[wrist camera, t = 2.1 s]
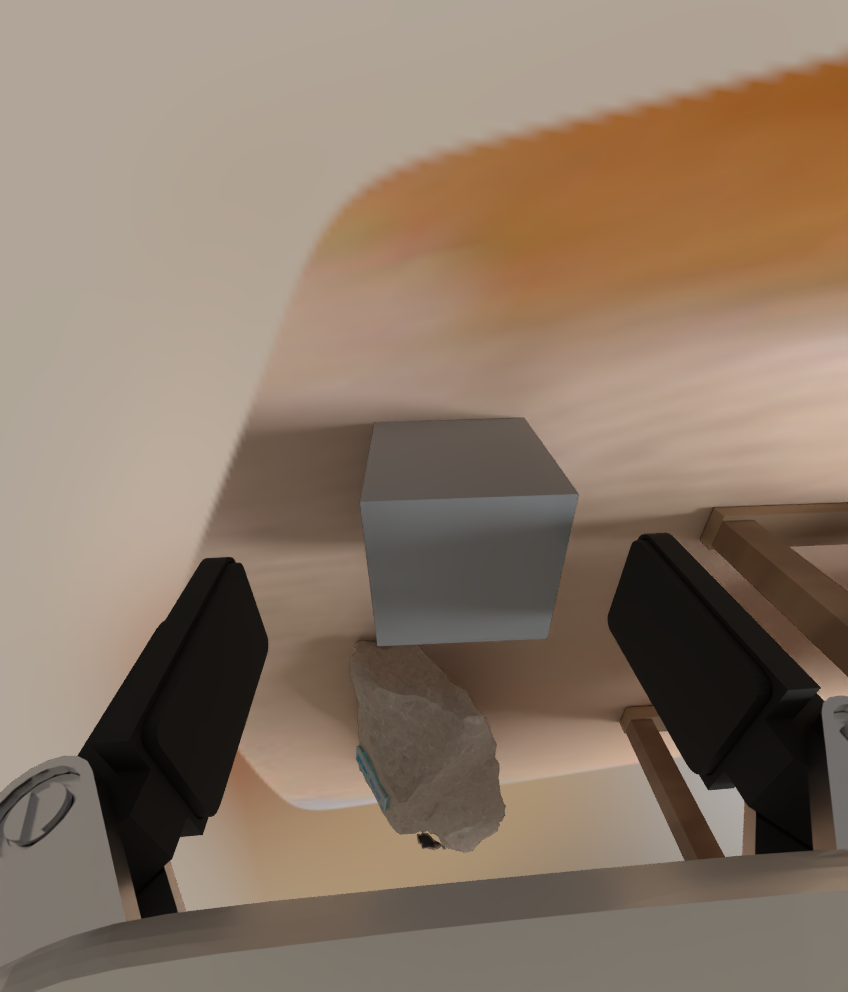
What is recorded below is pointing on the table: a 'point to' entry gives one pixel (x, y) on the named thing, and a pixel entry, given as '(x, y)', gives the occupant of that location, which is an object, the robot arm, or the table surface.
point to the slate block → (463, 531)
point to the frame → (792, 590)
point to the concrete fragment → (424, 748)
